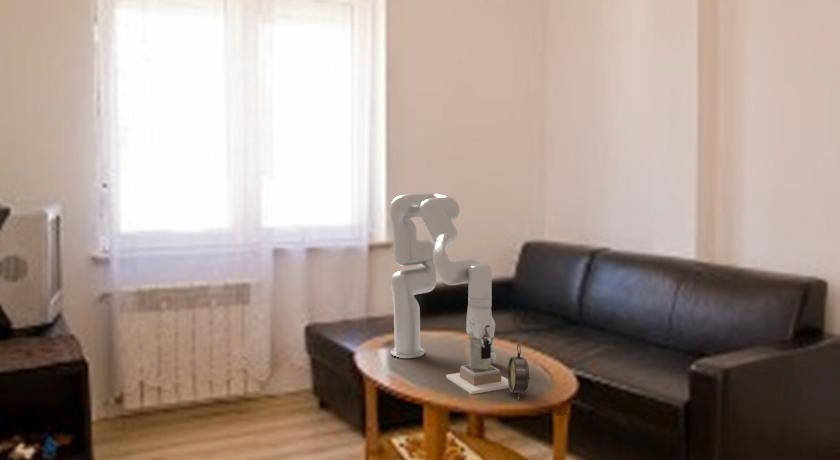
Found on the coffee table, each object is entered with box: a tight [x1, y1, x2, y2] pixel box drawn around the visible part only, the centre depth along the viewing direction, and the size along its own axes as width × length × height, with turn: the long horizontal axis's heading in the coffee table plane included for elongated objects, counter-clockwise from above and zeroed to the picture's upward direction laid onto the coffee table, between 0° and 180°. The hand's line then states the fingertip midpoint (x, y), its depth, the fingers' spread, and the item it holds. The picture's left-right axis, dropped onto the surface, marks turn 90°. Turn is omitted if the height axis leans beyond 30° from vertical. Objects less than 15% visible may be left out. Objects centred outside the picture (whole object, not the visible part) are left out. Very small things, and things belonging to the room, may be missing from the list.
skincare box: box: [468, 332, 490, 370], centre depth 245 cm, size 6×4×12 cm
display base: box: [445, 364, 509, 395], centre depth 246 cm, size 18×16×5 cm
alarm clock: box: [507, 343, 530, 398], centre depth 232 cm, size 11×5×16 cm, turn 5°
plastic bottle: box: [490, 317, 497, 366], centre depth 264 cm, size 6×7×20 cm
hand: (479, 354), depth 245 cm, fingers open, 7 cm apart
